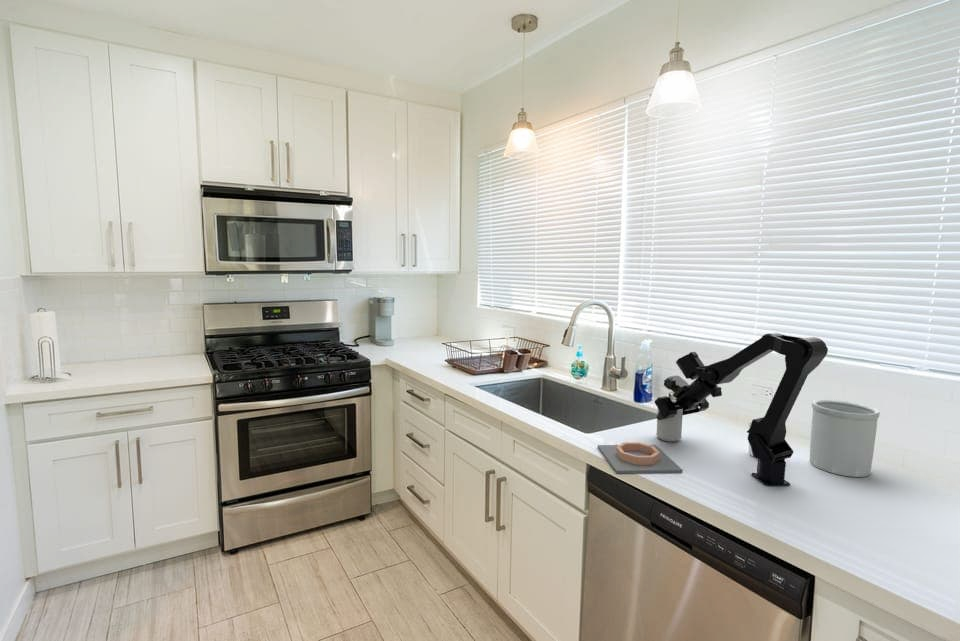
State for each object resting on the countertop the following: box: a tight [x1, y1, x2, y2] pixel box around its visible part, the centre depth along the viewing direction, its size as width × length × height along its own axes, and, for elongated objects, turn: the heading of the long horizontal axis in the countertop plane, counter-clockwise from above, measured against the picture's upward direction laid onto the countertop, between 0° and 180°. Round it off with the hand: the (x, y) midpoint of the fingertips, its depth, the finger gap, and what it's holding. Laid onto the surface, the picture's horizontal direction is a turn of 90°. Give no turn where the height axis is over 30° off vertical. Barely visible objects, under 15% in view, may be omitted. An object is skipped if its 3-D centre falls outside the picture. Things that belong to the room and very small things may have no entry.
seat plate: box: [597, 441, 683, 474], centre depth 138 cm, size 18×18×3 cm
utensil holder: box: [809, 398, 881, 478], centre depth 133 cm, size 15×15×18 cm
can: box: [656, 399, 684, 443], centre depth 153 cm, size 8×8×12 cm
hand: (666, 417), depth 155 cm, fingers closed on can, 7 cm apart
